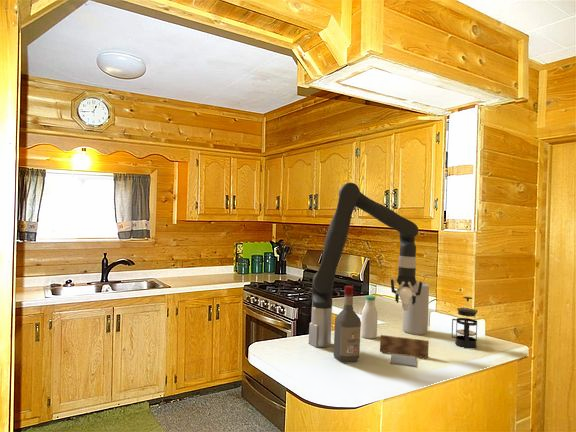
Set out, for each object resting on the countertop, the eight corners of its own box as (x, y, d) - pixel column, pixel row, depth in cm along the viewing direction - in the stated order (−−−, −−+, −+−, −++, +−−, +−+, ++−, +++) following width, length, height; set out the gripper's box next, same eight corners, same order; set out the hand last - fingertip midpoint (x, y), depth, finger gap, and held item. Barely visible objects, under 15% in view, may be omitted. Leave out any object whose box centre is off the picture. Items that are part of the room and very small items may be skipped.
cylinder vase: (424, 329, 215) (426, 282, 215) (429, 336, 203) (431, 286, 203) (400, 327, 217) (402, 281, 217) (404, 334, 205) (406, 285, 205)
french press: (477, 344, 193) (479, 296, 192) (479, 350, 184) (481, 300, 184) (451, 340, 197) (453, 293, 197) (451, 346, 188) (453, 297, 188)
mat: (390, 363, 162) (390, 362, 162) (391, 355, 172) (391, 354, 172) (416, 367, 160) (416, 365, 159) (415, 358, 169) (415, 357, 169)
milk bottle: (376, 339, 194) (378, 298, 194) (360, 338, 195) (362, 297, 195) (376, 335, 201) (378, 295, 201) (360, 333, 203) (362, 294, 203)
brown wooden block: (379, 352, 175) (380, 336, 175) (380, 349, 180) (381, 333, 180) (428, 359, 169) (428, 342, 169) (427, 355, 174) (428, 339, 174)
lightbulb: (395, 308, 184) (396, 284, 184) (409, 308, 184) (410, 284, 184) (400, 311, 178) (401, 286, 178) (414, 312, 178) (415, 287, 178)
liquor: (361, 361, 163) (364, 288, 163) (341, 364, 160) (344, 288, 160) (350, 354, 172) (353, 284, 172) (331, 356, 168) (334, 284, 168)
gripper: (390, 265, 179) (388, 303, 179) (424, 268, 175) (422, 306, 175) (391, 264, 187) (389, 300, 187) (423, 266, 182) (421, 303, 182)
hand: (405, 303), depth 181 cm, fingers closed on lightbulb, 6 cm apart
